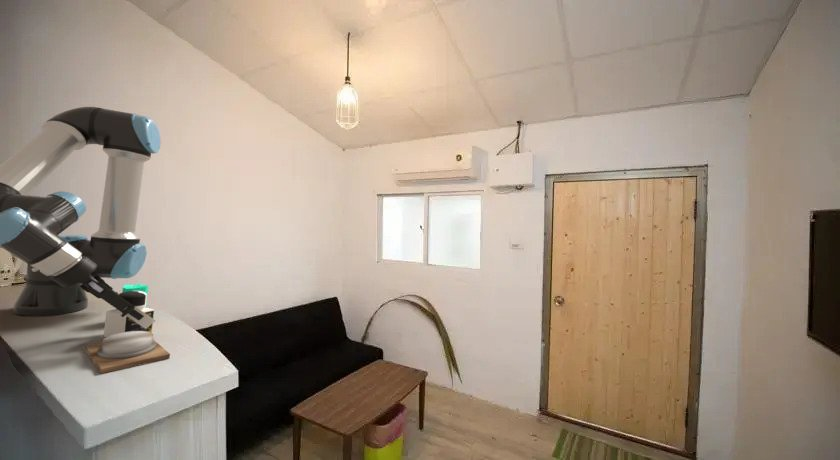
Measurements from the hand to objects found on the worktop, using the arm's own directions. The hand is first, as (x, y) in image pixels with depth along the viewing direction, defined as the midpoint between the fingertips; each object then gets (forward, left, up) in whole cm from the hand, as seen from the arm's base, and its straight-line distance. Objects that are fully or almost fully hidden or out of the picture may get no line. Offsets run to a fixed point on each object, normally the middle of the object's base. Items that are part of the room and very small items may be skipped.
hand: (144, 319), depth 89 cm
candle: (-14, +1, -4) cm, 15 cm away
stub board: (+13, -6, -4) cm, 15 cm away
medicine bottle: (0, -3, -4) cm, 5 cm away
